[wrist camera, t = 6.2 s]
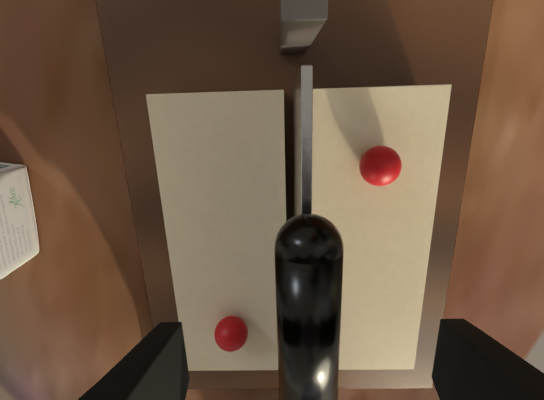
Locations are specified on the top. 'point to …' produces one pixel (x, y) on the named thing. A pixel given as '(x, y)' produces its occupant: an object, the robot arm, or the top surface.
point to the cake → (272, 215)
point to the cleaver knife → (307, 274)
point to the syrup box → (16, 219)
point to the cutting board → (279, 76)
